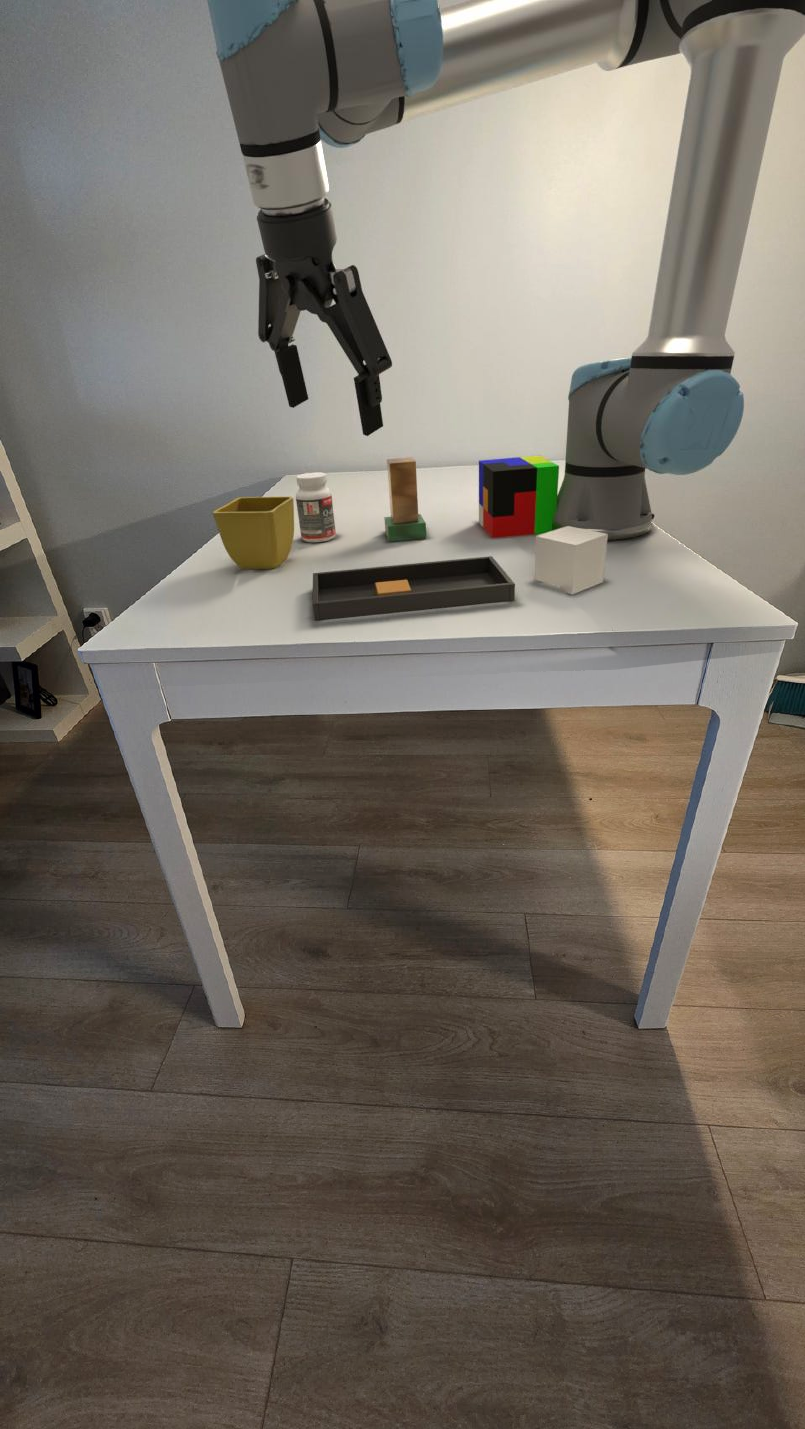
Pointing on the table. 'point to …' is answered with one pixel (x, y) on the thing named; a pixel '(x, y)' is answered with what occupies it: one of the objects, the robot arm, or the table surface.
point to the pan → (427, 583)
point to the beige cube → (570, 558)
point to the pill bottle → (315, 508)
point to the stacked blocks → (403, 502)
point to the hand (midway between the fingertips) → (334, 416)
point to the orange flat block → (392, 587)
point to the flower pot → (257, 530)
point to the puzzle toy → (517, 495)
